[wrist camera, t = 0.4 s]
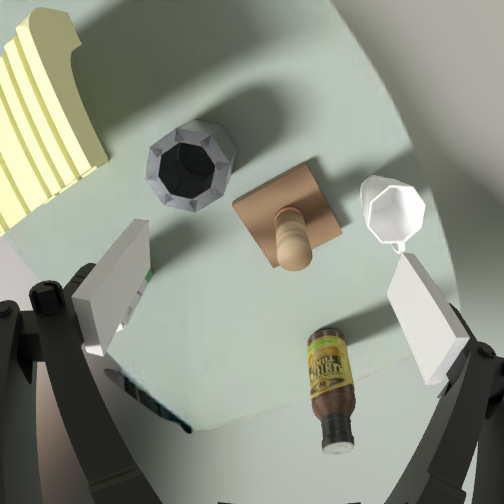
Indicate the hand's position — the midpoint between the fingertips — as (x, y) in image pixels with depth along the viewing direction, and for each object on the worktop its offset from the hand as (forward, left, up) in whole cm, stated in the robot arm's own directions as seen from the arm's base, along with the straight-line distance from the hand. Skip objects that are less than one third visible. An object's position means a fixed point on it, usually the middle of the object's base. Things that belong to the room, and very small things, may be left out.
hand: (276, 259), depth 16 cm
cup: (+11, +9, -24) cm, 28 cm away
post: (+7, -2, -24) cm, 25 cm away
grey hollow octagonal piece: (-5, -7, -24) cm, 25 cm away
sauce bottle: (+29, -7, -24) cm, 39 cm away
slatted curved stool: (-20, -23, -24) cm, 39 cm away
